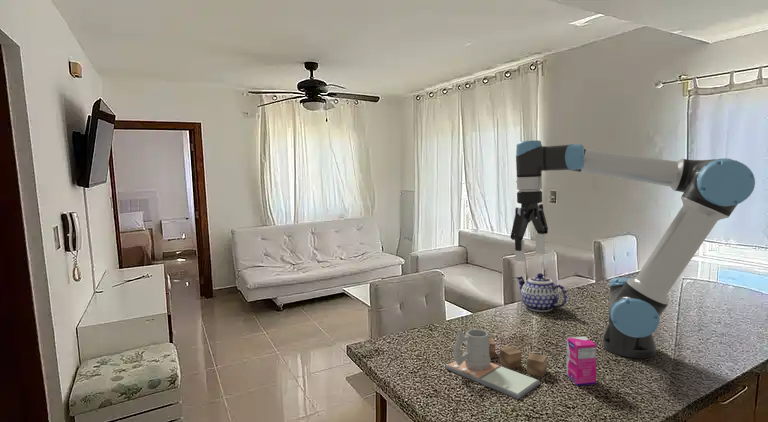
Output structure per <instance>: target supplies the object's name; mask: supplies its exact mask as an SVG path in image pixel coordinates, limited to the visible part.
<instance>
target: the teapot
mask: <svg viewBox="0 0 768 422" xmlns="http://www.w3.org/2000/svg"><path fill="white" fill-rule="evenodd" d="M515 278H516V279H517V281H518V286H519V292H520V296H521V300H522V303H523V304H524V305H525V306H526V307H527V309H528V310H529V311H533V312H539V313H540V312H541V313H546V312H551V311H552V310H553V309H555V308H561V307H564V306H565V305H566V303H567V302H568V292H567V290H566V288H565V287H564V286H563V285H562V284H557V285H556V284H555V283H554V282H553V280H552V279H551V278H549V277H544V273H541V272H539V273H537V274H536V276H533V277H529V278H528V279H527V281H526V282H525V280H524V279H525V278H524V277H523V276H521V275H520V276H516V277H515ZM559 288H560V290H561V292H562V294H563V302H561V304H559V302H560V291H559Z"/></svg>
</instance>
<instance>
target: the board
mask: <svg viewBox="0 0 768 422" xmlns="http://www.w3.org/2000/svg"><path fill="white" fill-rule="evenodd" d="M445 369H446V370H447V371H451V372H452V373H455V374H458V375H460V376H462V377H464V378H467V379H469V380H471V381H474V382H476V383H478V384H481V385H484V386H486V387H488V388H492V389H493V390H495V391H498V392H500V393H503V394H505V395H507V396H509V397H512V398H514V399H516V400H519V399H521V398H522V397H524V396H525V395H526V394H528V393H529V392H531V391H532V390H533V389H535V388H536V387H538V386H539V385H540V380H539V379H536V378H534V377H531V376H528V375H525V374H523V373H520V372H517V371H515V370H512V369H509V368H507V367H505V366H503V365H502V366H501V365H499V364H496V363H494V362H491V363H490V367H489V368H488V369H486V370H484V369H483V370H472V369H470V368H468V367H467V366H466V362H465V361H463V363H462V364H461V365H460V366H459V365H457V362H456V361H455V360H453V361H452V362H449V363H448V364H446V365H445Z"/></svg>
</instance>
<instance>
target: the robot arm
mask: <svg viewBox="0 0 768 422" xmlns="http://www.w3.org/2000/svg"><path fill="white" fill-rule="evenodd" d="M515 149H516V153H515V163H516V165H515V166H516V167H515V168H516V181H515V182H516V190H518V191H517V192H516V203H517V204H520V207H517V206H516V207H515V210H514V211H515V213H514V218H513V219H514V220H513V224H512V228H511V233H510V239H511V240H512V241H513V240H514V253H515V254H514V255H515V256H514V259H515V260H514V261H516V262H525V261H526V260H525V259H526V258H525V255H526V254H525V252H526V251H525V239H524V237H525V234H526V230H527V228H528V225H529V223H532V226H533V227H534V229H535V232H536V233H535V254H540V255H545V253H546V251H545V244H546V243H545V241H546V239H545V236H546V234H548V233H549V232H548V230H549V228H548V224H547V219H546V216H545V212H544V204H543V203H542V202H543V191H541V190H542V189H543V171H544V172H546V171H547V172H548V171H550V172H551V171H571V172H572V171H573V172H578V173H584V174H585V173H586V174H591V175H597V176H604V177H610V178H616V179H622V180H627V181H628V180H629V181H634V182H641V183H647V184H653V185H659V186H665V187H669V188H671V189H672V190H673V191H675V192H680V193H682V194H681V197H680V200H681V201H682V207H681V208H680V209H679V211H678V213H677V214H676V216H675V218H674V219H673V220H672V222H671V223H670V224H669V226H668V228H667V230H665V233H664V234H663V236H662V237H661V239H660V240H659V241H658V243H657V245H656V246H655V248H654V250H653V251H652V252H651V254H650V255H649V257H648V258H647V260H646V261H645V263H644V264H643V266H642V268H641V269H640V271H639V272H638V274H637V275H636V276H635V278H633V277H613V278H611V279H610V281H609V286H608V287H609V307H608V308H609V309H608V311H609V313H608V324H607V327H606V329H605V331H604V333H603V336H602V340H601V341H602V342H601V343H602V347H603V348H604V349H605V350H606V351H608V352H610V353H612V354H615V355H618V356H621V357H625V358H630V359H651V358H654V356H656V355H657V344H656V341H655V338H654V336H653V334H654V333H655V332H656V330H657V329H658V327H659V324H660V317H661V316H662V314H663V312H664V311H665V310H666V308H667V306H668V305H669V303H670V302H669V297H668V294H669V292H670V290H671V289H672V288H673V286H674V285H675V283H677V280H678V279H679V278H680V276H681V275H682V273H683V272H684V270H685V269H686V268H687V266H688V265H689V263H690V262H691V260H692V259H693V258H694V256H695V255H696V253H697V251H698V250H699V249H700V247H701V246H702V244H703V243H704V242H705V241H706V239H707V237H708V235H710V233H711V231H712V229H714V227H715V225H716V224H717V222H718V221H721V220H725V219H729V217H730V216H731V214H732V213H733V212H734V210H735V209H736V207H738V205H739V204H741V203H743V202H744V201H746V200H748V198H749V197H750V196H751V195H752V194H753V192H754V190H755V186H756V178H755V175H754V173H753V171H752V170H751V168H750V167H748V165H746V164H744V163H743V162H740V161H738V160H734V159H732V158H726V157H725V158H716V159H715V158H714V159H703V160H702V159H701V160H700V159H687V158H681V159H679V160H677V161H675V160H669V159H661V158H654V157H648V156H647V157H646V156H641V155H640V156H639V155H633V154H632V155H631V154H624V153H618V152H617V153H616V152H610V151H604V150H603V151H602V150H596V149H588V148H585V147H584V145H583V144H574V143H570V144H559V145H549V146H547V145H545V146H544V145H542V141H541V140H539V139H537V140H523V141H519V142H518V143H517V144H516V148H515Z"/></svg>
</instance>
